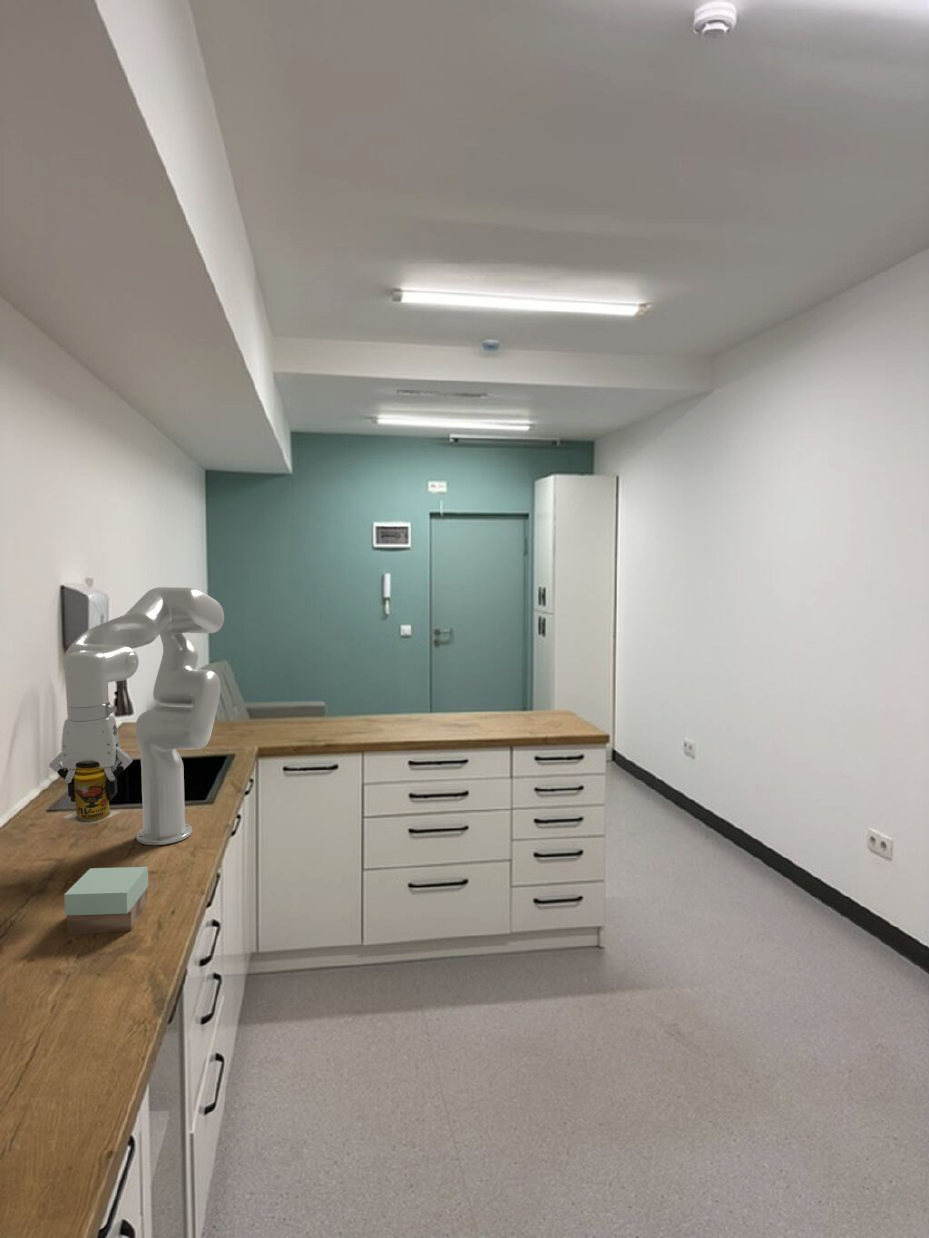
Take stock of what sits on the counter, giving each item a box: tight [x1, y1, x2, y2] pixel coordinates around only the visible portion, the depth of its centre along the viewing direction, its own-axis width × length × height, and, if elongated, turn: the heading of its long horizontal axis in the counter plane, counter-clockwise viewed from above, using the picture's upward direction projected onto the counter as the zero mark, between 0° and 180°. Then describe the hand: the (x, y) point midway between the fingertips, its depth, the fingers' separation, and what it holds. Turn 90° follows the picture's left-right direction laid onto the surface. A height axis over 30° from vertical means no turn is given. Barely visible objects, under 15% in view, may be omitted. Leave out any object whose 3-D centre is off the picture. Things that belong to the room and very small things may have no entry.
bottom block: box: [66, 888, 148, 936], centre depth 139 cm, size 11×11×4 cm
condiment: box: [62, 762, 121, 826], centre depth 148 cm, size 7×8×12 cm
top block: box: [63, 866, 149, 917], centre depth 139 cm, size 11×11×4 cm
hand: (93, 797), depth 148 cm, fingers closed on condiment, 6 cm apart
